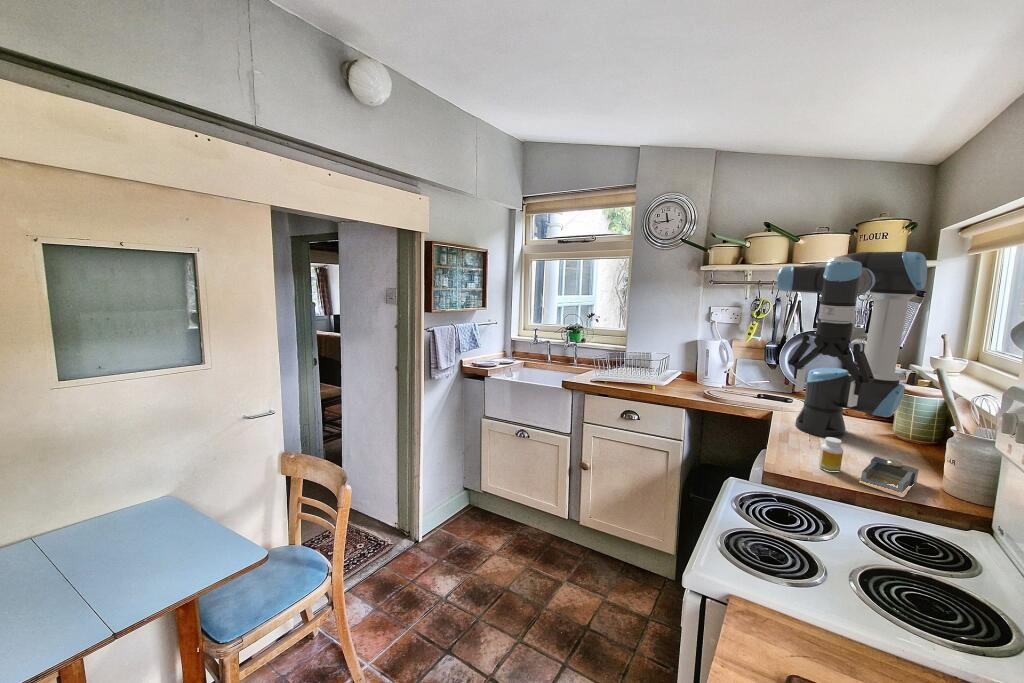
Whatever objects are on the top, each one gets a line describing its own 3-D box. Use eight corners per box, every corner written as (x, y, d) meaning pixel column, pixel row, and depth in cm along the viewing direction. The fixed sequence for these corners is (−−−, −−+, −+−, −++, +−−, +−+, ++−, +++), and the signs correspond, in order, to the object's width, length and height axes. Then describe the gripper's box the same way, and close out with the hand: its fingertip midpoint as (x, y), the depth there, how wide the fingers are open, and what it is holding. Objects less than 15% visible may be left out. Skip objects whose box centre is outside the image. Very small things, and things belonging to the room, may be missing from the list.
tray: (872, 468, 133) (875, 453, 132) (916, 481, 125) (919, 466, 124) (857, 483, 125) (860, 467, 124) (903, 498, 117) (906, 482, 116)
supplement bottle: (843, 474, 130) (848, 444, 127) (823, 472, 131) (828, 442, 129) (834, 465, 135) (839, 436, 133) (815, 464, 136) (819, 435, 134)
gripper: (779, 315, 123) (771, 387, 128) (883, 330, 101) (868, 415, 106) (796, 313, 126) (787, 383, 131) (900, 327, 104) (886, 410, 109)
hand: (824, 398), depth 118 cm, fingers open, 13 cm apart
